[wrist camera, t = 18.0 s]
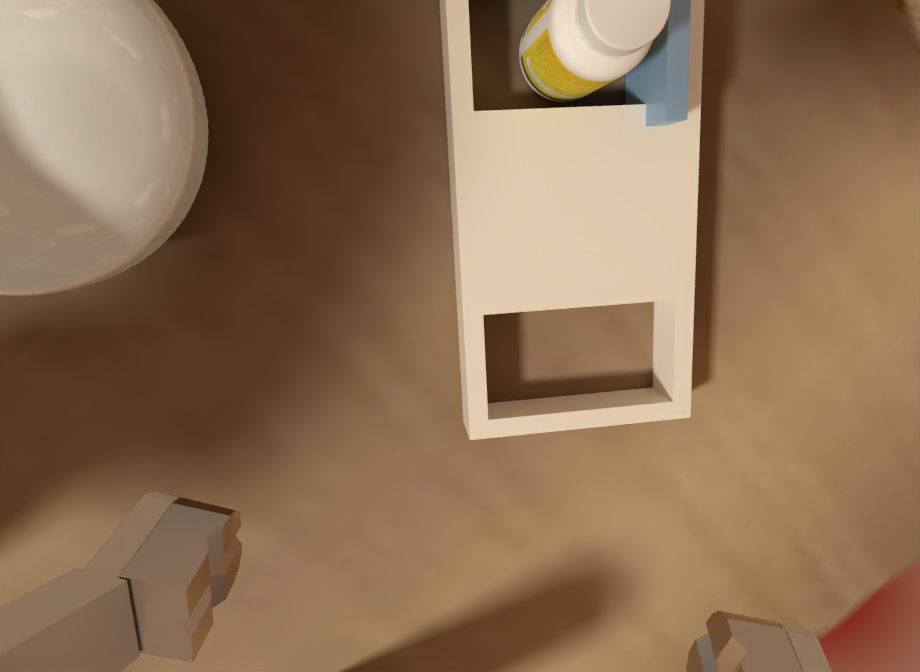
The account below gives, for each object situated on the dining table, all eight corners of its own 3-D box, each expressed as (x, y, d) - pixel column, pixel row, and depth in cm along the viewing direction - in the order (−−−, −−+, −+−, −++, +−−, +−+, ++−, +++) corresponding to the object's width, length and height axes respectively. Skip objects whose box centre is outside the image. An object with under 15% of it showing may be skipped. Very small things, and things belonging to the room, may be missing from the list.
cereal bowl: (118, -98, 31) (43, -182, 24) (288, 192, 35) (266, 190, 28) (-170, 57, 31) (-326, 16, 24) (35, 330, 35) (-48, 361, 28)
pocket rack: (463, 422, 40) (476, 456, 34) (437, -26, 34) (448, -69, 28) (668, 402, 41) (711, 431, 36) (679, -30, 35) (732, -71, 30)
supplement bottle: (597, 109, 36) (673, 76, 27) (511, 96, 36) (558, 57, 26) (612, 13, 35) (697, -56, 26) (524, -2, 35) (578, -80, 25)
